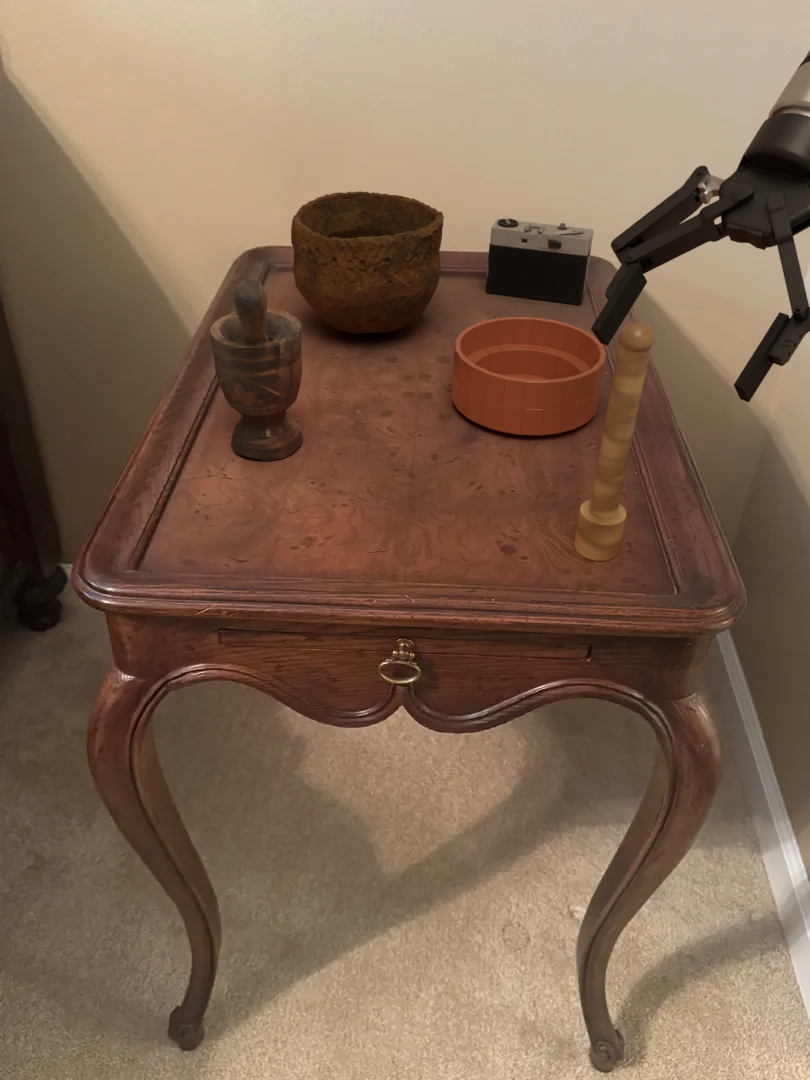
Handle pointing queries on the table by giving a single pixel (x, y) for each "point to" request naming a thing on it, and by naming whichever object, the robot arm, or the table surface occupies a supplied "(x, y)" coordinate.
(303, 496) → the table surface
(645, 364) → the muddler
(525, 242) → the camera
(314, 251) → the bowl
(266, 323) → the mortar and pestle
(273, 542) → the table surface
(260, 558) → the table surface
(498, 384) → the mixing bowl
